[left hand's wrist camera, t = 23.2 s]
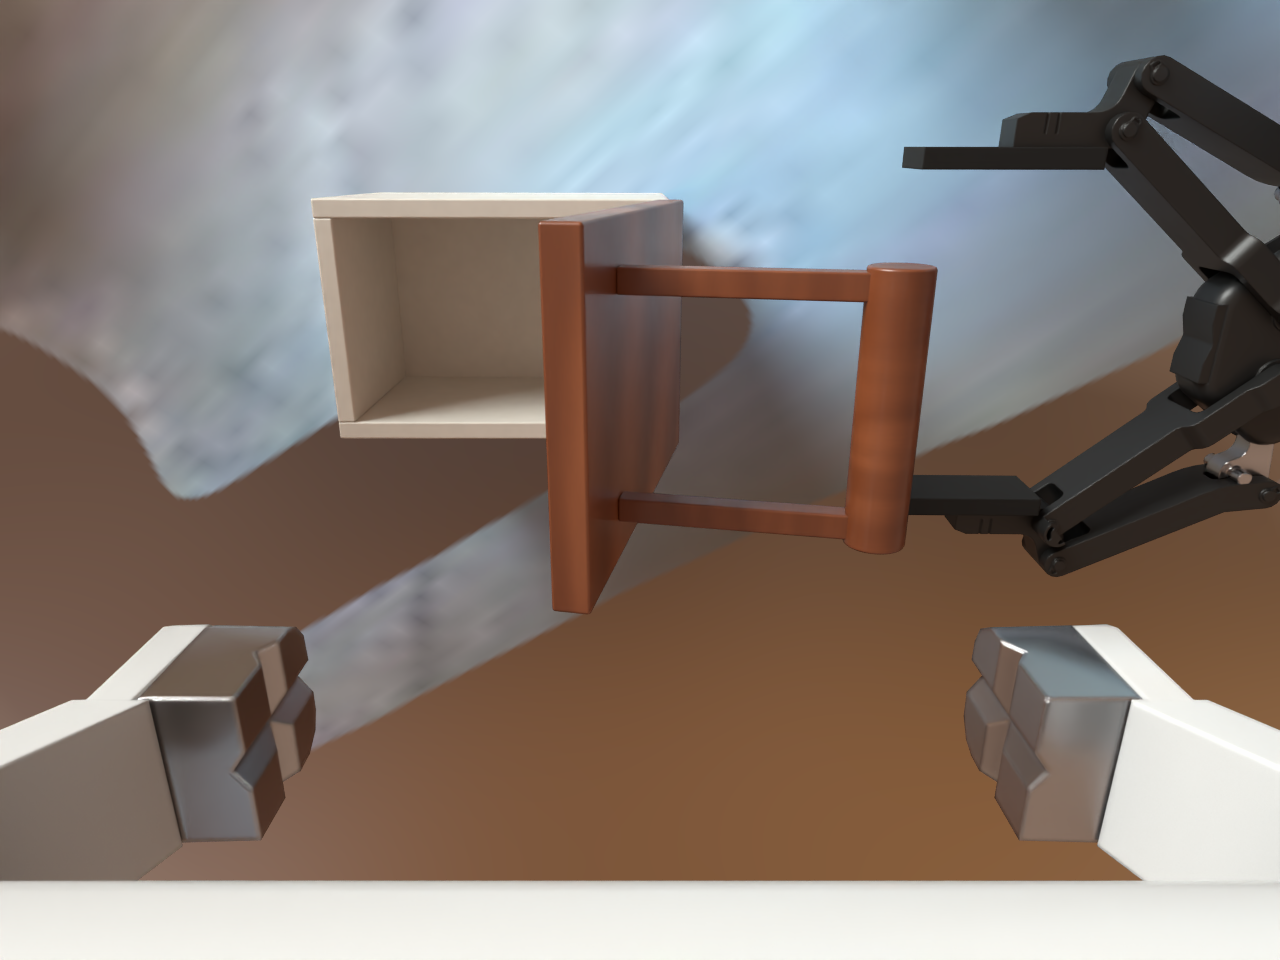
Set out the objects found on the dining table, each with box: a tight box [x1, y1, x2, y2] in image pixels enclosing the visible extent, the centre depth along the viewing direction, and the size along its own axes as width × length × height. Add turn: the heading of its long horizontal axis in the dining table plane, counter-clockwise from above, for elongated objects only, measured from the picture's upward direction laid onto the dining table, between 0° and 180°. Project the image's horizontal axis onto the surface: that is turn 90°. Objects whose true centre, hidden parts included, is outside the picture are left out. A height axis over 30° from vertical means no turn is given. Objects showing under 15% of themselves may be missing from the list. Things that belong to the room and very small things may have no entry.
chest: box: [311, 193, 669, 439], centre depth 38 cm, size 14×10×9 cm
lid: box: [538, 200, 938, 614], centre depth 26 cm, size 15×10×9 cm
